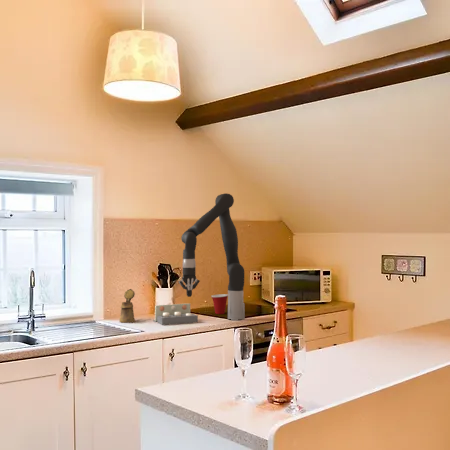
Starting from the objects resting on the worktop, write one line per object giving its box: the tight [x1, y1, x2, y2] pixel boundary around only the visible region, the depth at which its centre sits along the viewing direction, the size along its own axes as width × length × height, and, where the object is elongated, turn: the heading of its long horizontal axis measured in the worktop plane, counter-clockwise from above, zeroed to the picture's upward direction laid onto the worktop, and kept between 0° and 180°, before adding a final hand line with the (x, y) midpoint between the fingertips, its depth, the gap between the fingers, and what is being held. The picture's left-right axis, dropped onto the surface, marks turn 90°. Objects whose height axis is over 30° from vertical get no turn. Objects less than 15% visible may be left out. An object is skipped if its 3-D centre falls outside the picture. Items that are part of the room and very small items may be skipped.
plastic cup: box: [211, 293, 228, 315], centre depth 360 cm, size 11×11×12 cm
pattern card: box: [152, 303, 191, 323], centre depth 332 cm, size 22×4×10 cm, turn 116°
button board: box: [156, 313, 199, 326], centre depth 324 cm, size 22×8×4 cm, turn 116°
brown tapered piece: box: [119, 288, 136, 324], centre depth 329 cm, size 9×14×18 cm, turn 178°
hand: (189, 296), depth 327 cm, fingers closed
